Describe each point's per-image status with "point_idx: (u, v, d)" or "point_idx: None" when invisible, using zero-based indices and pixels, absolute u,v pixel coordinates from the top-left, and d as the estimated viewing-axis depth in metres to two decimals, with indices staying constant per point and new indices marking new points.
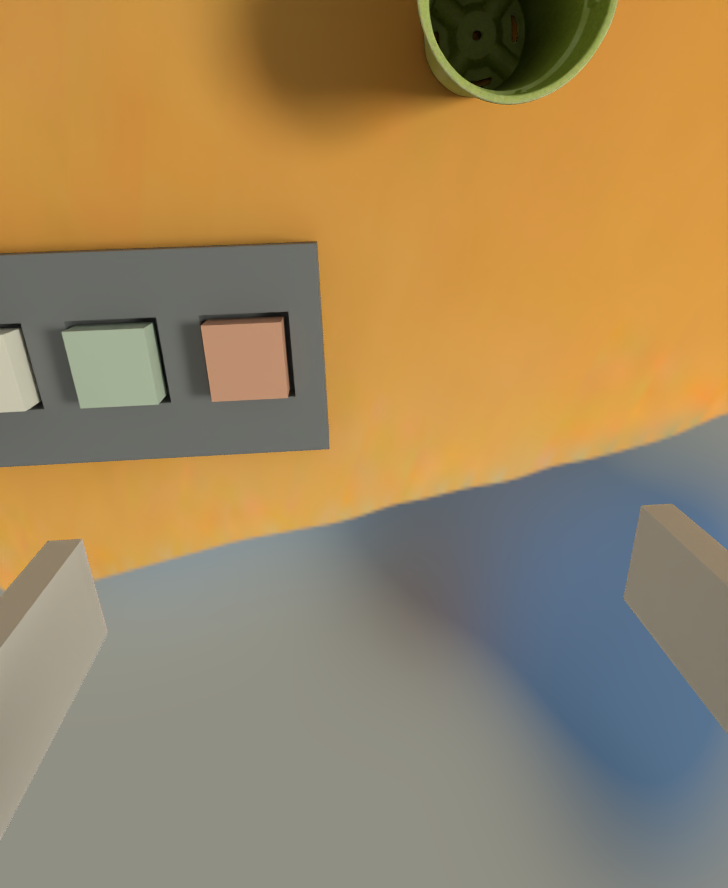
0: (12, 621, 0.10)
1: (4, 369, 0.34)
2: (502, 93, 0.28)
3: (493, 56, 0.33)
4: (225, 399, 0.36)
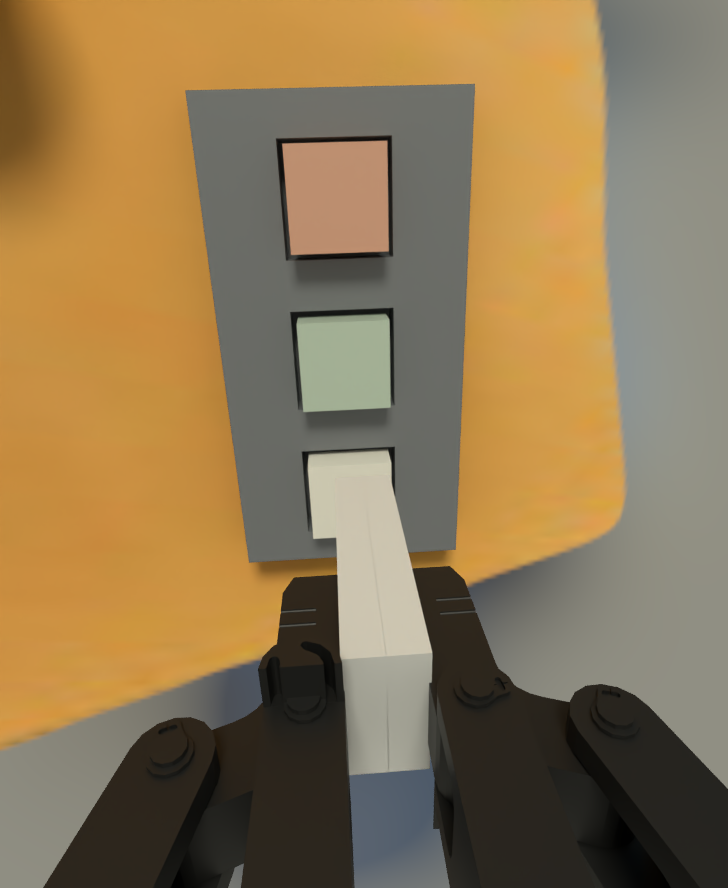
0: (361, 529, 0.12)
1: (345, 473, 0.33)
2: None
3: None
4: (386, 232, 0.28)
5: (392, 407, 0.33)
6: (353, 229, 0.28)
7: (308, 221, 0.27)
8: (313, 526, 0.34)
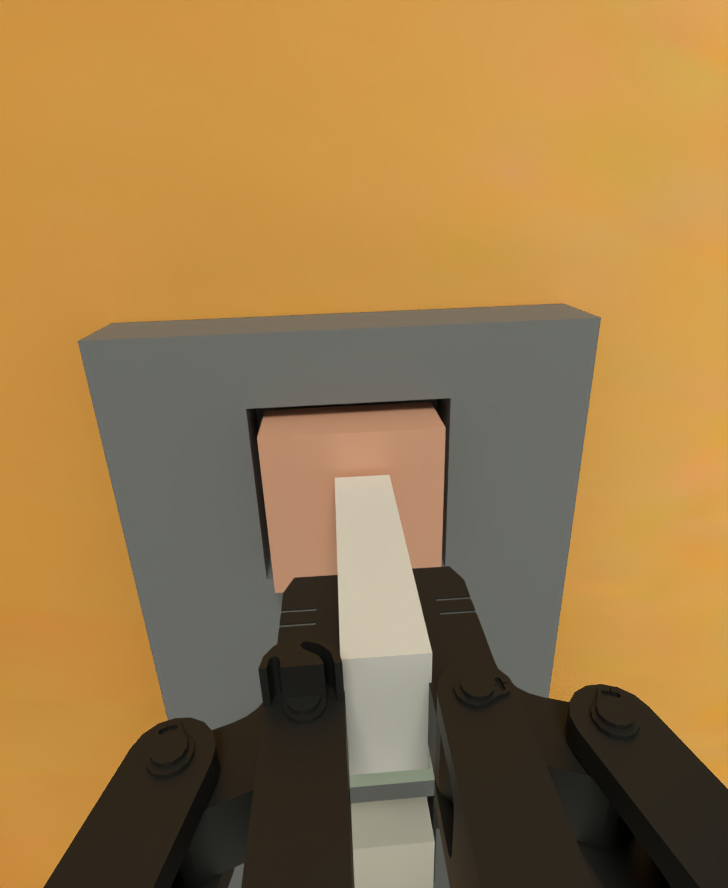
0: (362, 529, 0.12)
1: (362, 857, 0.21)
2: None
3: None
4: (437, 556, 0.16)
5: None
6: None
7: (304, 546, 0.16)
8: None
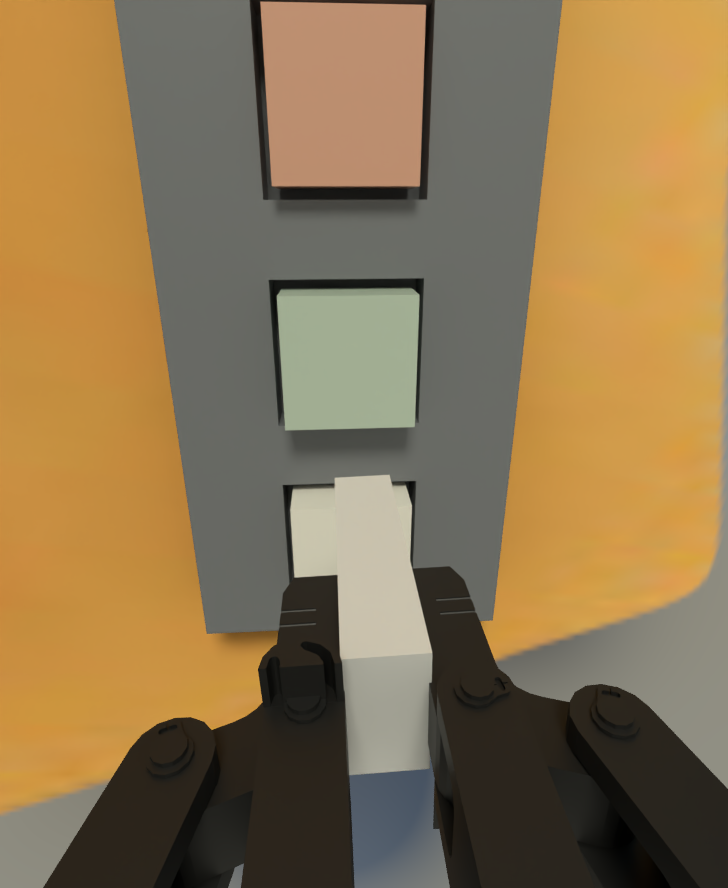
0: (362, 529, 0.12)
1: None
2: None
3: None
4: (417, 156, 0.18)
5: (415, 425, 0.23)
6: (368, 149, 0.18)
7: (299, 133, 0.18)
8: None
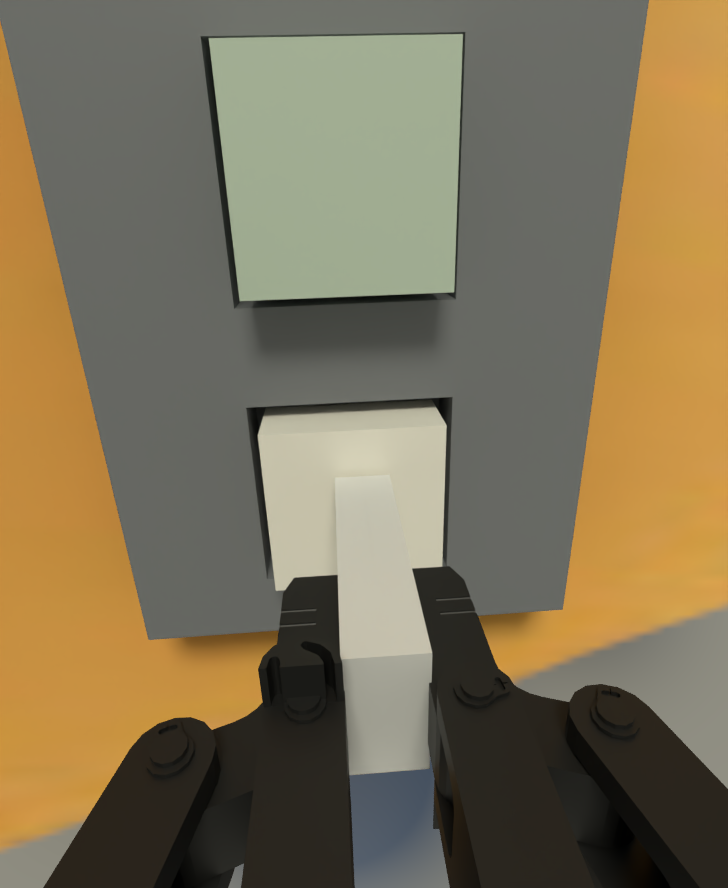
0: (362, 529, 0.12)
1: (342, 450, 0.15)
2: None
3: None
4: None
5: (451, 304, 0.14)
6: None
7: None
8: (275, 565, 0.16)
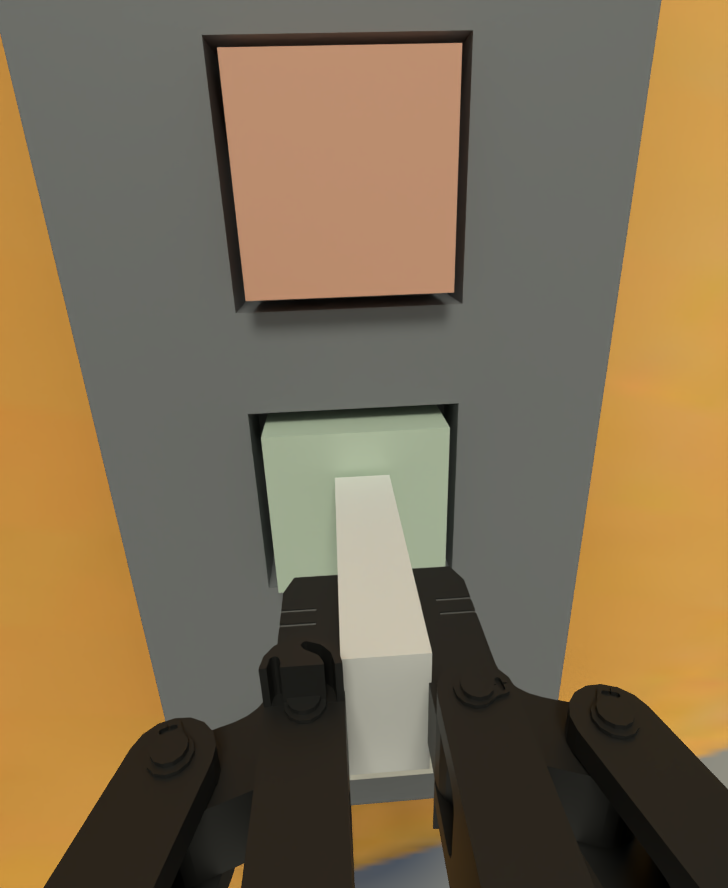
0: (362, 529, 0.12)
1: None
2: None
3: None
4: (450, 253, 0.13)
5: None
6: (380, 246, 0.13)
7: (282, 229, 0.12)
8: None
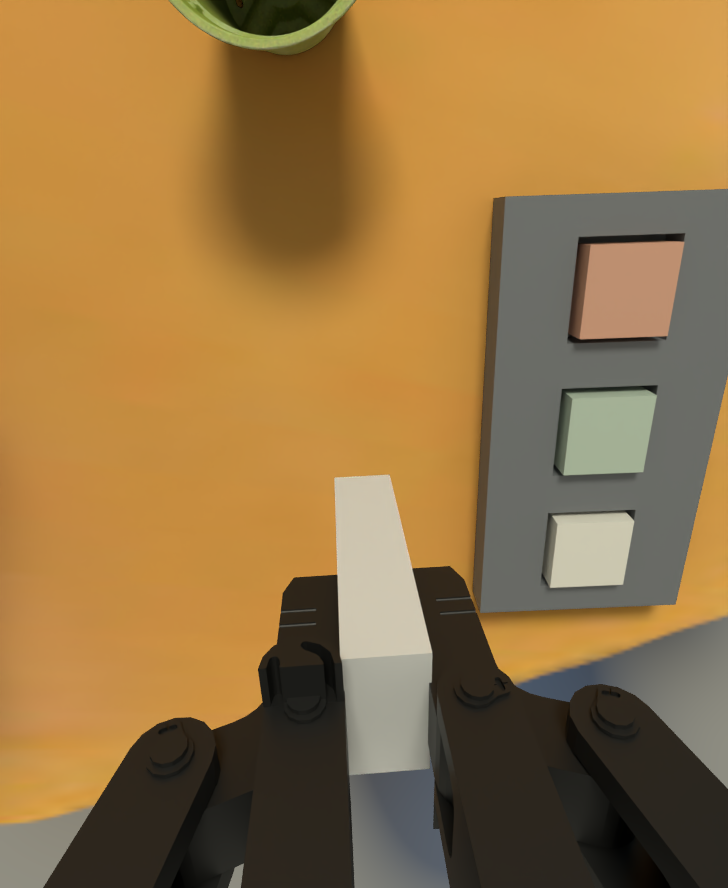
0: (362, 529, 0.12)
1: (590, 530, 0.36)
2: None
3: None
4: (668, 319, 0.30)
5: (640, 474, 0.35)
6: (639, 317, 0.30)
7: (600, 310, 0.30)
8: (552, 576, 0.37)
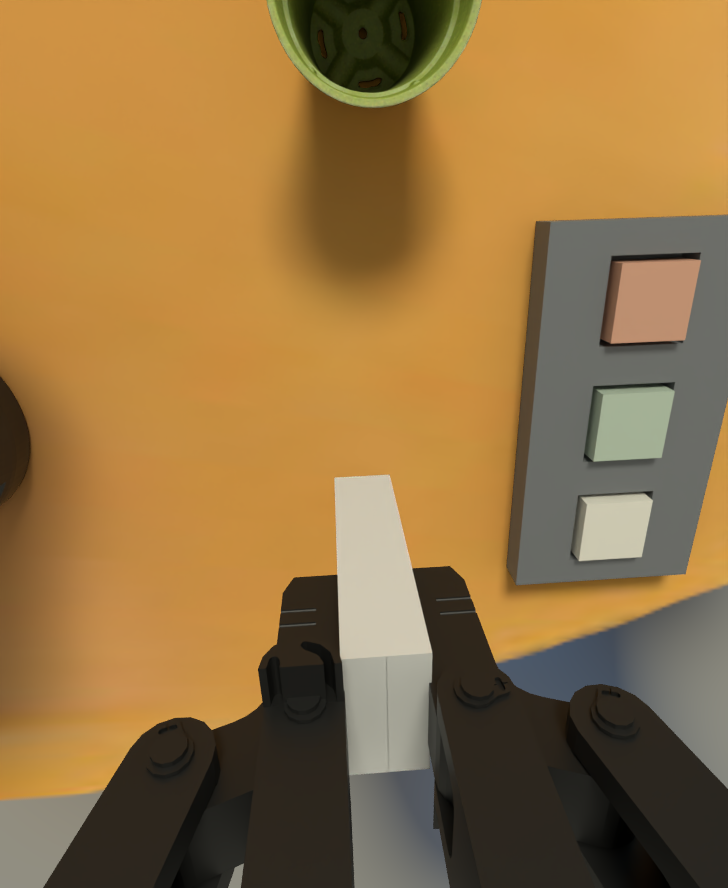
0: (362, 529, 0.12)
1: (615, 509, 0.41)
2: None
3: (380, 10, 0.30)
4: (686, 326, 0.36)
5: (658, 459, 0.40)
6: (662, 324, 0.35)
7: (629, 318, 0.35)
8: (581, 551, 0.42)
